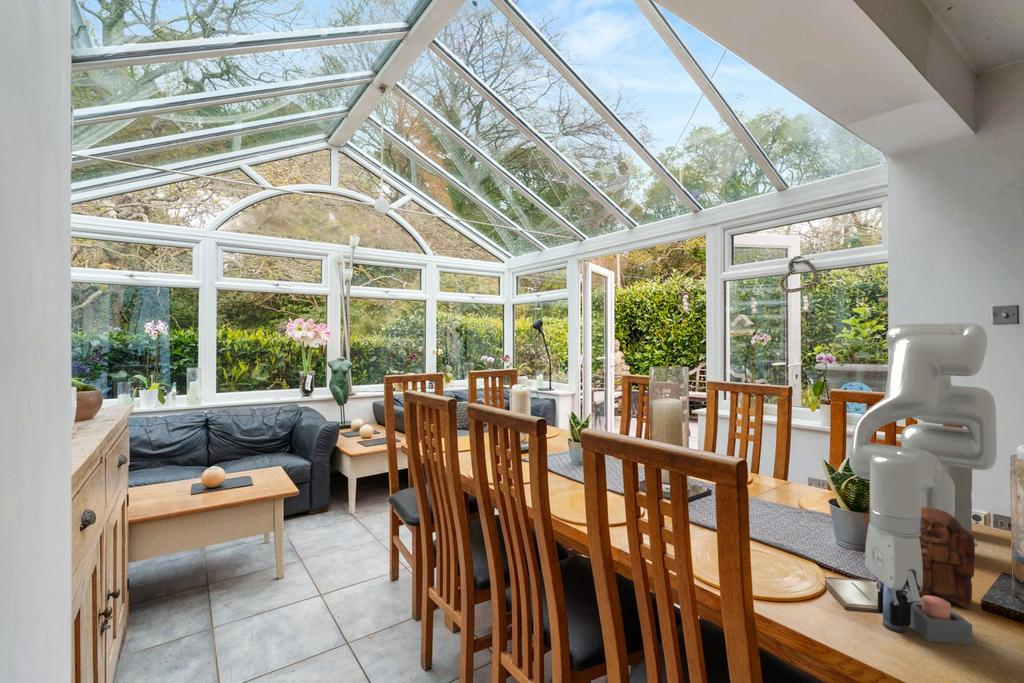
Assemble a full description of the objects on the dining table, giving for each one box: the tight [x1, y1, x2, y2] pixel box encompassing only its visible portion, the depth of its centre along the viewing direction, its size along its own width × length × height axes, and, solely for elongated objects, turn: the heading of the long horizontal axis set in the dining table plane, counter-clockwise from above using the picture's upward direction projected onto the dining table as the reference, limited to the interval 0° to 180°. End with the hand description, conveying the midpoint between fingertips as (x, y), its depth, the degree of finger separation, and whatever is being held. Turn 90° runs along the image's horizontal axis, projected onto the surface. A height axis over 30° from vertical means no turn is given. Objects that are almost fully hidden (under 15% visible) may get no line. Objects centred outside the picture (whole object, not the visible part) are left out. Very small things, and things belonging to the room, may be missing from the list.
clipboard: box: [824, 576, 922, 613], centre depth 101 cm, size 16×12×1 cm
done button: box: [921, 595, 952, 620], centre depth 90 cm, size 4×4×4 cm
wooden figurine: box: [918, 507, 976, 609], centre depth 102 cm, size 12×6×18 cm, turn 44°
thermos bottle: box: [942, 465, 973, 534], centre depth 134 cm, size 8×8×28 cm
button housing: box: [910, 601, 973, 646], centre depth 90 cm, size 7×7×4 cm
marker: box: [882, 583, 906, 633], centre depth 91 cm, size 3×3×8 cm
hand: (893, 618), depth 91 cm, fingers closed on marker, 3 cm apart
